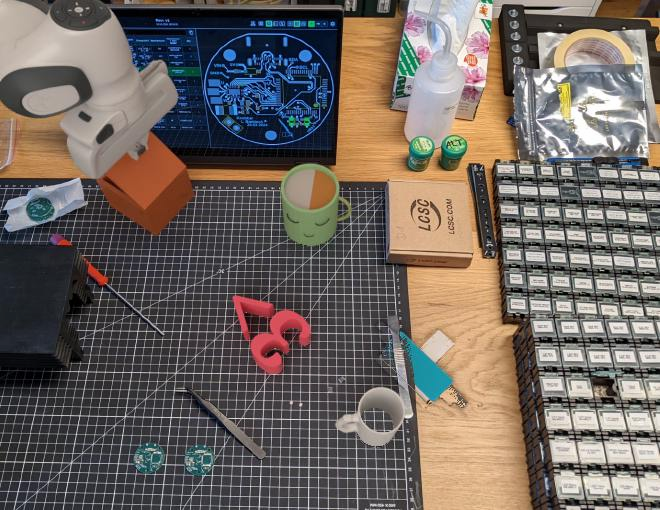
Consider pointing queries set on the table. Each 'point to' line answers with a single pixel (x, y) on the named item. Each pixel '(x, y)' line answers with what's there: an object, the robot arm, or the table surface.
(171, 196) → the parts case
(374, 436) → the mug
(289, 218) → the mug
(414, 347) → the phone stand
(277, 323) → the red number figure
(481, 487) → the table surface
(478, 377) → the table surface
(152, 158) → the case lid
